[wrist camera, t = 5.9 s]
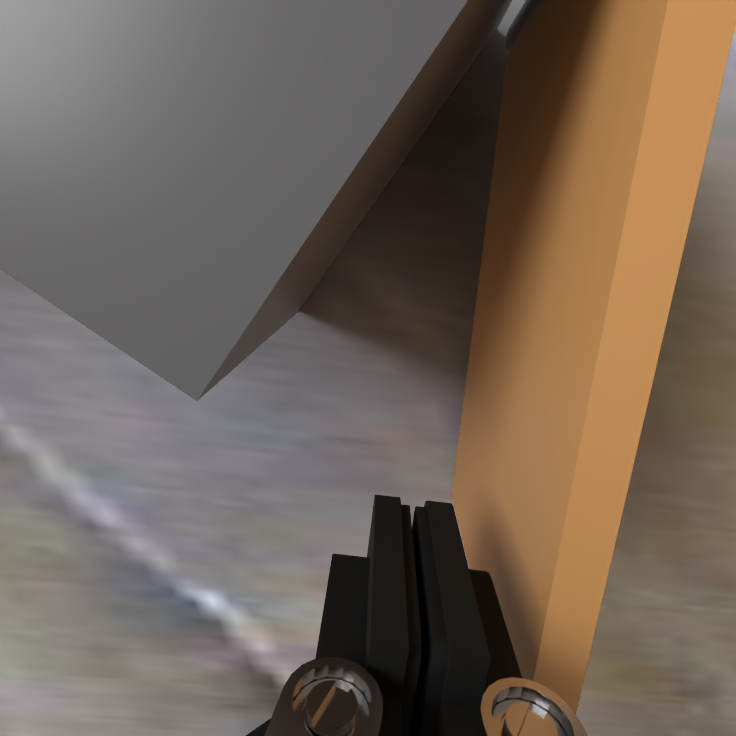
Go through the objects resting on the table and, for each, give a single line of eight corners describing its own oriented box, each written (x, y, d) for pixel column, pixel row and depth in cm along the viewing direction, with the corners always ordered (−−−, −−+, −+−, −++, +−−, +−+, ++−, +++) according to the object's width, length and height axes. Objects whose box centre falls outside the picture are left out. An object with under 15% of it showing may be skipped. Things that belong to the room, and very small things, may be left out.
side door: (563, 20, 13) (893, -375, 5) (491, 499, 17) (598, 769, 9) (508, 17, 13) (732, -382, 5) (448, 495, 17) (511, 762, 9)
